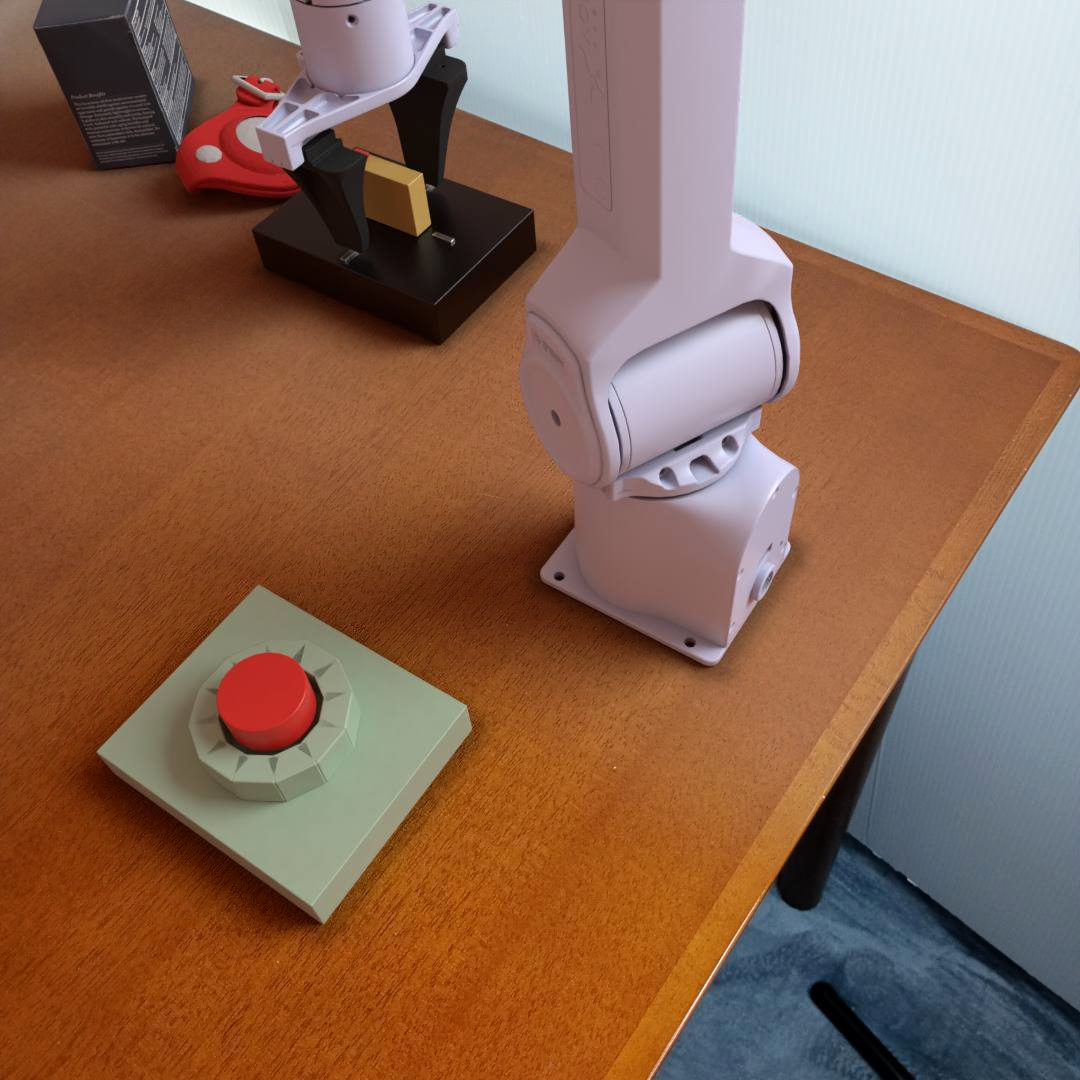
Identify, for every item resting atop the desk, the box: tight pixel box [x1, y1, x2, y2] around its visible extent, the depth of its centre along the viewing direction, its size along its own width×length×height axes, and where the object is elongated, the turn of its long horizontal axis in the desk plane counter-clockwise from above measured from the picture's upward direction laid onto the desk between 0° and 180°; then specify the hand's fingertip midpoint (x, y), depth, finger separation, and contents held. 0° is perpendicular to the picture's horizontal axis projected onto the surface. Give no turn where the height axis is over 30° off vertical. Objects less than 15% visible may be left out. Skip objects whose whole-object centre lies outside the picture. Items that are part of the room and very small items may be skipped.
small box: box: [32, 0, 196, 171], centre depth 74 cm, size 11×6×10 cm, turn 6°
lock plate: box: [251, 146, 538, 345], centre depth 65 cm, size 14×10×3 cm
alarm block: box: [96, 584, 473, 925], centre depth 45 cm, size 12×10×4 cm
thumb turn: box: [354, 148, 431, 237], centre depth 63 cm, size 5×1×4 cm, turn 56°
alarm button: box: [216, 652, 316, 751], centre depth 43 cm, size 4×4×2 cm
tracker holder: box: [174, 74, 302, 199], centre depth 73 cm, size 12×4×10 cm
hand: (390, 211), depth 64 cm, fingers open, 7 cm apart
